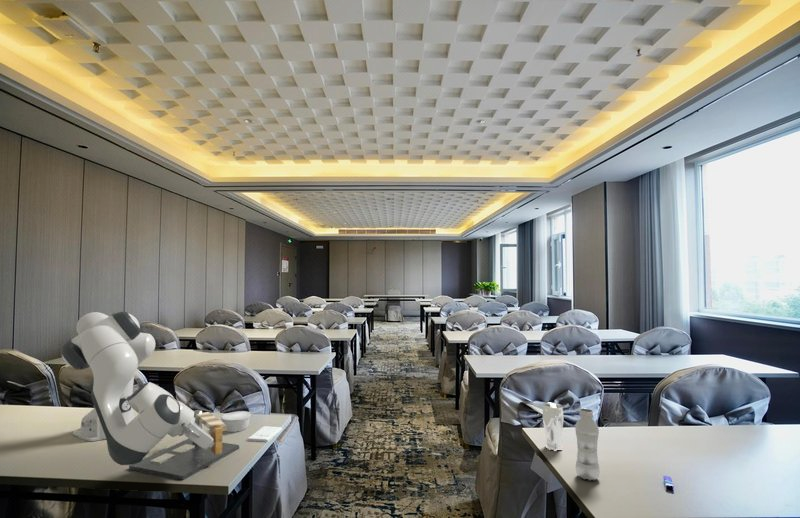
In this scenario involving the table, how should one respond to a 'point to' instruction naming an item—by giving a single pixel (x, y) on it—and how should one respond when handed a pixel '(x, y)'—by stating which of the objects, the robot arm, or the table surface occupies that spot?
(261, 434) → the external hard drive
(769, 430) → the table surface
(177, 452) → the base plate
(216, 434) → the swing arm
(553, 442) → the beer glass
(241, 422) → the ramekin
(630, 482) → the table surface
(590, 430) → the plastic bottle
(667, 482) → the eraser
